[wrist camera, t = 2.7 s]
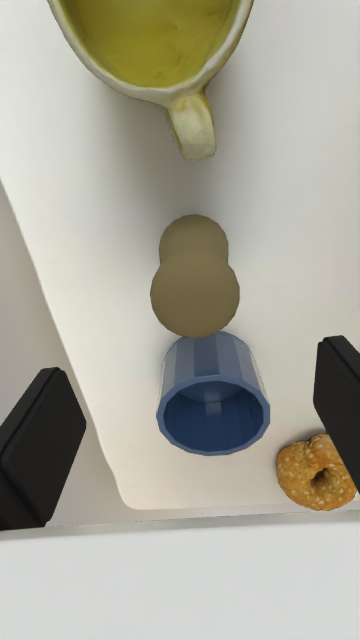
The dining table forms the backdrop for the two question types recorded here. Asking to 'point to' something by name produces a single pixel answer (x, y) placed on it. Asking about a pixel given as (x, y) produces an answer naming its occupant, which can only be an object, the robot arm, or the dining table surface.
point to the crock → (212, 396)
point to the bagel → (315, 474)
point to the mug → (159, 54)
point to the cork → (194, 278)
